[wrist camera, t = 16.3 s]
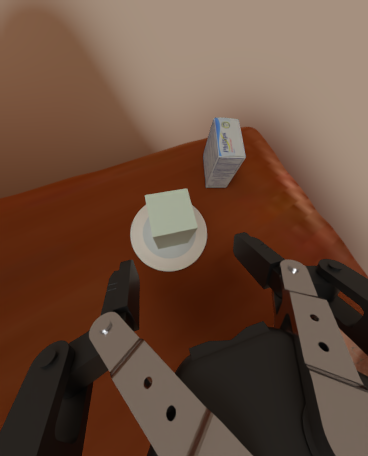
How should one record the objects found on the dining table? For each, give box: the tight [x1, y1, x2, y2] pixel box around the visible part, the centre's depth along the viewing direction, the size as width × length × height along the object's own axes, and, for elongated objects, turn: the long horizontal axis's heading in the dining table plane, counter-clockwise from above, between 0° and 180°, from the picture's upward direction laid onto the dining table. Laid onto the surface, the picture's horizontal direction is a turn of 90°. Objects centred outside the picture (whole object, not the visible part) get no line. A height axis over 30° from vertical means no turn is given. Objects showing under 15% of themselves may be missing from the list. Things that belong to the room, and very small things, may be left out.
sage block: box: [145, 189, 198, 249], centre depth 21 cm, size 5×5×9 cm
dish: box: [130, 205, 207, 271], centre depth 26 cm, size 13×13×1 cm
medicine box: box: [203, 118, 246, 188], centre depth 27 cm, size 8×4×9 cm, turn 2°
